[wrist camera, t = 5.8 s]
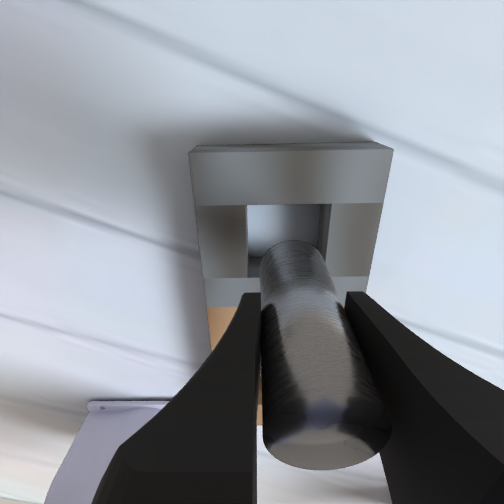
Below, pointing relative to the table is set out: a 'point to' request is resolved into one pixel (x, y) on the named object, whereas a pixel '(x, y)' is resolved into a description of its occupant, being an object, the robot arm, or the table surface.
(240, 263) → the dock board
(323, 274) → the pin
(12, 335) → the table surface
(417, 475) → the robot arm
